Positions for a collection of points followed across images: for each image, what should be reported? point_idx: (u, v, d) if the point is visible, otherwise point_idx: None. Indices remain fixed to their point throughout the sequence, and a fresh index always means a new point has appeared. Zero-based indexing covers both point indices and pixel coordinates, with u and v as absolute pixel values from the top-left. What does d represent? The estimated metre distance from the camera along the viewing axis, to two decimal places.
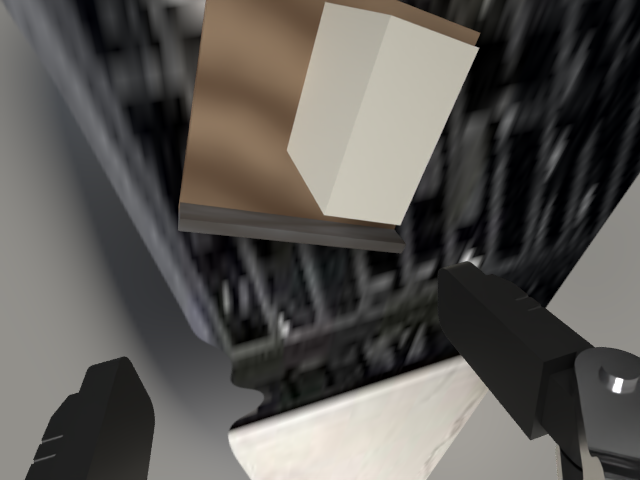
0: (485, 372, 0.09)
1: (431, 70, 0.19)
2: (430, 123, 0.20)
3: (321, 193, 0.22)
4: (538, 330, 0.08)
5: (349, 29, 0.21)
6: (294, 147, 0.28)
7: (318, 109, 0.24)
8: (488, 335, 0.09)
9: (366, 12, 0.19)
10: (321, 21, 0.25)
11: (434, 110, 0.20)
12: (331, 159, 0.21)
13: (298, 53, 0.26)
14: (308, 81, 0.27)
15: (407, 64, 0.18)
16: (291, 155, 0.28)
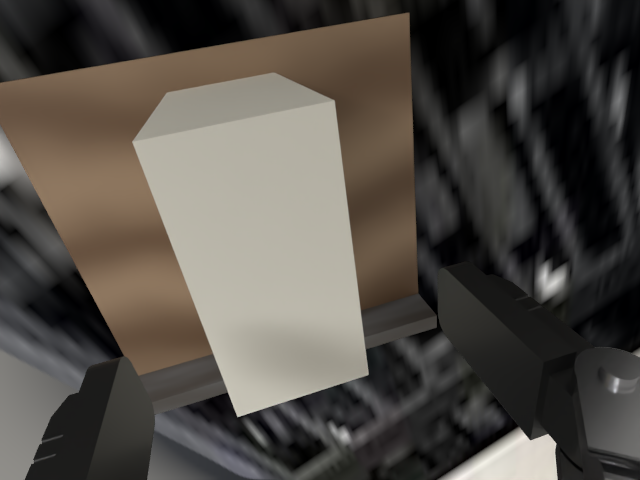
0: (486, 372, 0.09)
1: (269, 174, 0.10)
2: (323, 241, 0.12)
3: None
4: (538, 330, 0.08)
5: None
6: None
7: None
8: (488, 335, 0.09)
9: None
10: None
11: (317, 222, 0.11)
12: None
13: None
14: None
15: (220, 190, 0.10)
16: None
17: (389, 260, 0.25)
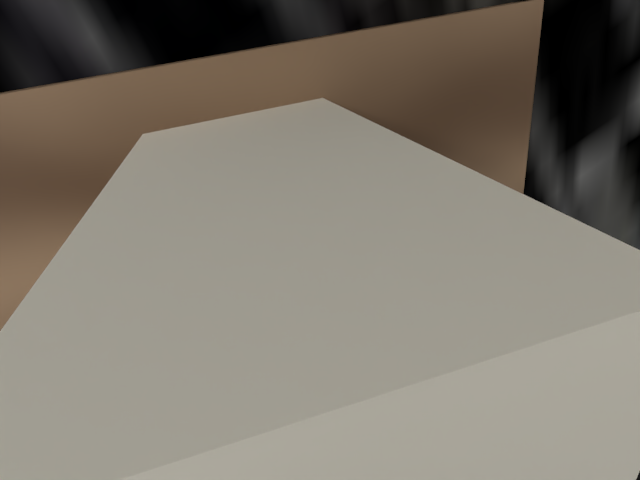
0: None
1: None
2: None
3: None
4: None
5: None
6: None
7: None
8: None
9: None
10: None
11: None
12: None
13: None
14: None
15: None
16: None
17: None
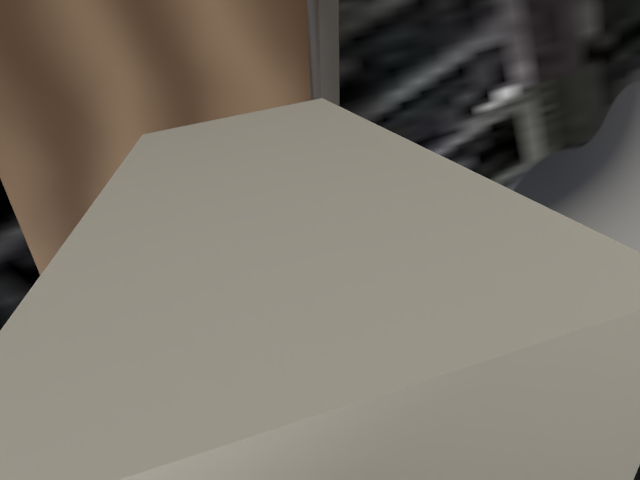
0: None
1: None
2: None
3: None
4: None
5: None
6: None
7: None
8: None
9: None
10: None
11: None
12: None
13: None
14: None
15: None
16: None
17: (245, 20, 0.20)
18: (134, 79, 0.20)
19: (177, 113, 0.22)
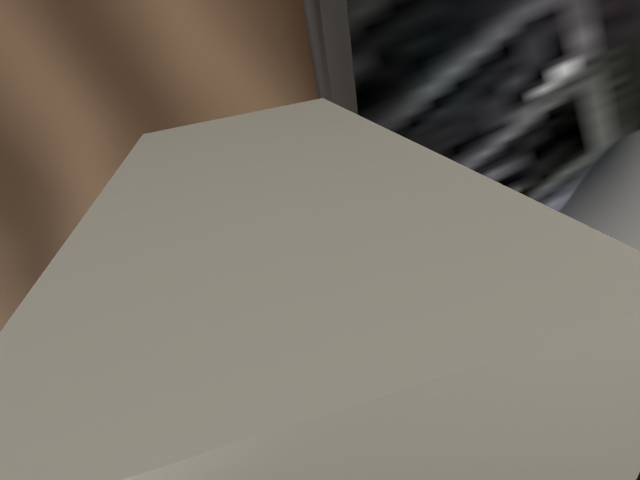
0: None
1: None
2: None
3: None
4: None
5: None
6: None
7: None
8: None
9: None
10: None
11: None
12: None
13: None
14: None
15: None
16: None
17: (223, 23, 0.16)
18: (92, 120, 0.16)
19: None
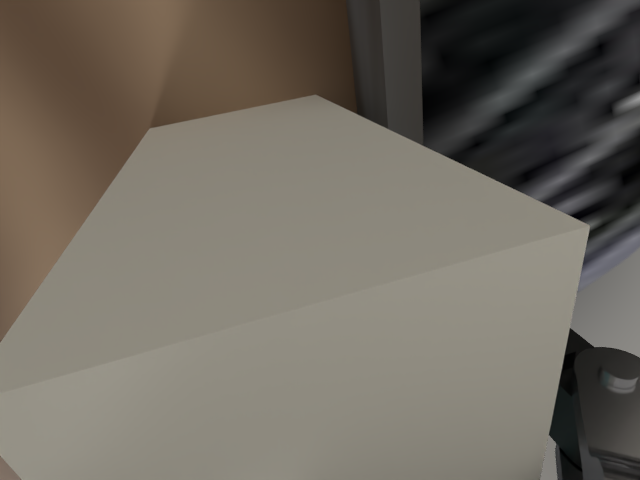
0: None
1: (383, 415, 0.04)
2: None
3: None
4: None
5: None
6: None
7: None
8: None
9: None
10: None
11: None
12: None
13: None
14: None
15: (251, 467, 0.04)
16: None
17: (227, 8, 0.11)
18: (35, 150, 0.11)
19: None
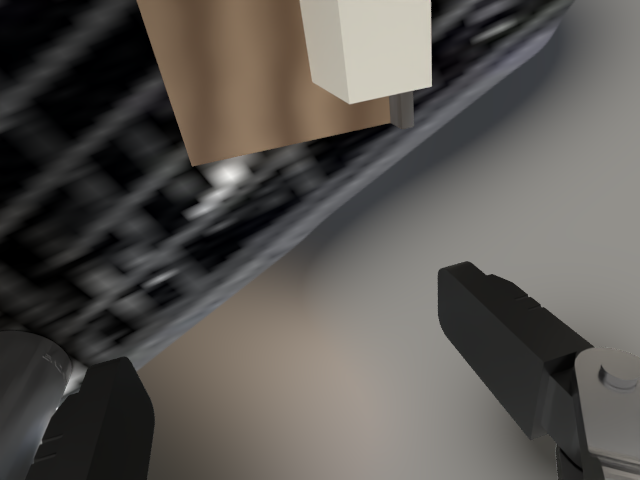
0: (486, 372, 0.09)
1: None
2: None
3: (341, 87, 0.23)
4: (538, 330, 0.08)
5: None
6: (315, 72, 0.29)
7: (315, 19, 0.25)
8: (488, 335, 0.09)
9: None
10: None
11: None
12: (336, 49, 0.22)
13: (231, 74, 0.29)
14: (302, 4, 0.27)
15: None
16: (316, 82, 0.29)
17: None
18: None
19: None
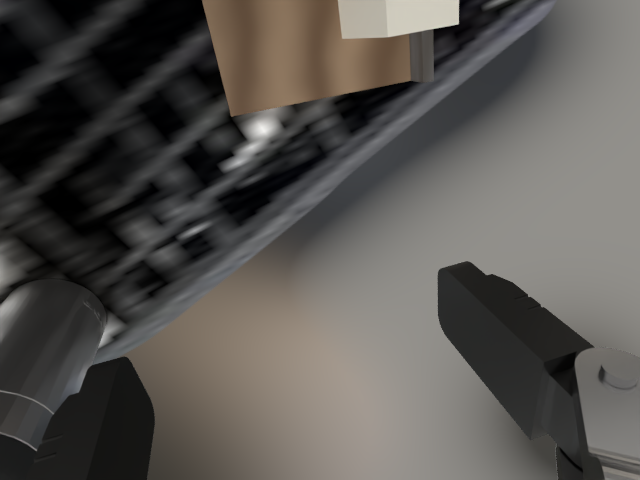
0: (486, 372, 0.09)
1: None
2: None
3: (379, 25, 0.26)
4: (538, 330, 0.08)
5: None
6: (346, 27, 0.32)
7: None
8: (488, 335, 0.09)
9: None
10: None
11: None
12: None
13: (270, 28, 0.32)
14: None
15: None
16: (347, 36, 0.33)
17: None
18: None
19: None
